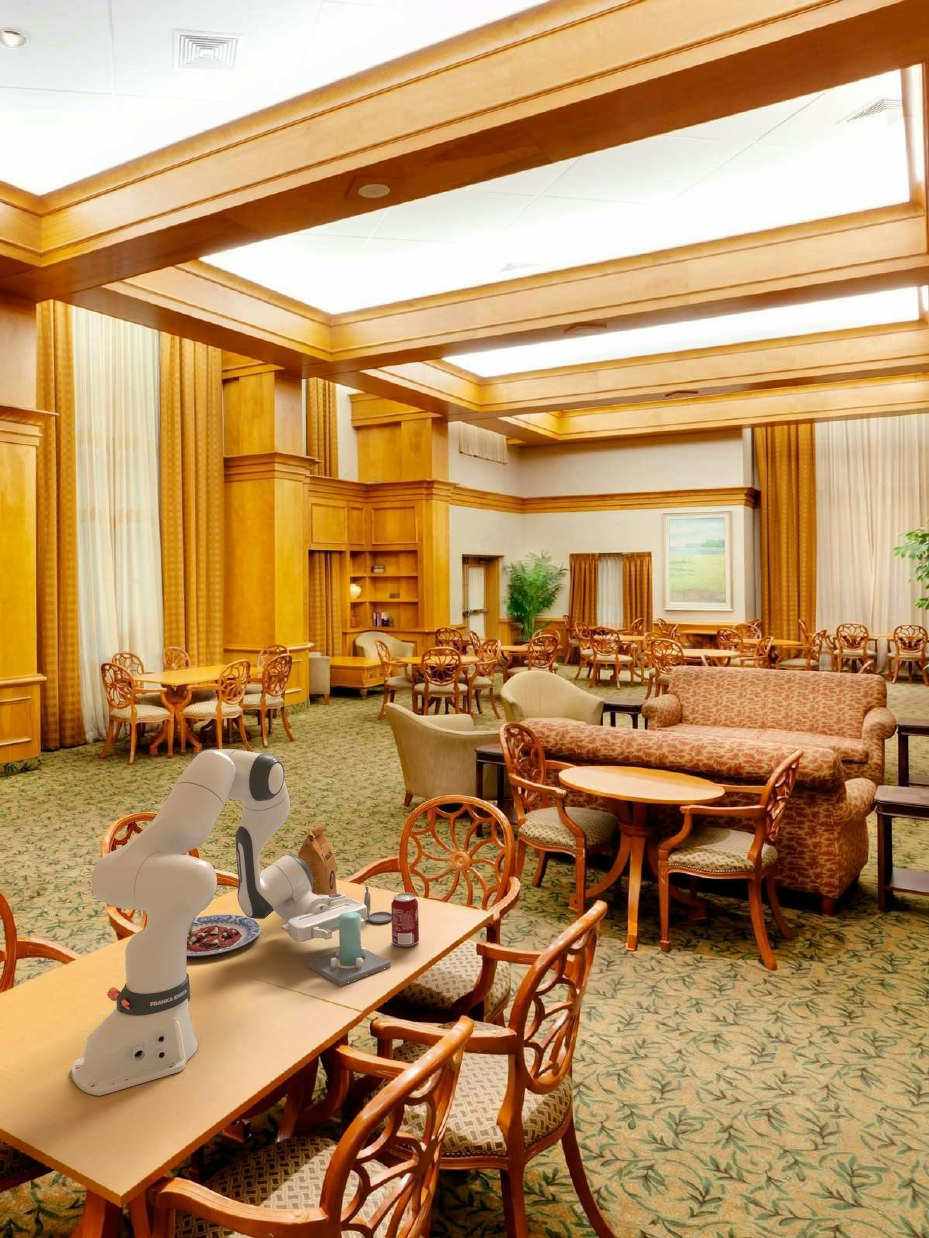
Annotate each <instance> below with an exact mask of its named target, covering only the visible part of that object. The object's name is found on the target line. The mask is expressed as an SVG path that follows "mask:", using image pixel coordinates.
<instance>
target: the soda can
mask: <svg viewBox="0 0 929 1238" xmlns="http://www.w3.org/2000/svg"><path fill="white" fill-rule="evenodd" d="M391 914H392V920H391V938H392V939H391V942H392V944H393V945H395V946H397V947H399V948H411V947H412V946H414V944H415V945H416V944H418V943H419V941H420V929H419V928H420V925H419V919H420V918H419V901H418V900H417V898H416V894H414V893H413V892H412V893H411V892H400V893H399V892H398V893H396V894H394V896H393V900H392V902H391Z"/></svg>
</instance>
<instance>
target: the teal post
mask: <svg viewBox="0 0 929 1238" xmlns="http://www.w3.org/2000/svg"><path fill="white" fill-rule="evenodd" d="M338 935H339V937H338V939H339V947H340V964H341V965H343V966H355V965H356V958H361V947H362V941H361V937H362V936H361V935H362V933H361V928H360V914H359V913H356V912H346V913H342V914H340V915H339V930H338Z"/></svg>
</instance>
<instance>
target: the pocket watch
mask: <svg viewBox="0 0 929 1238" xmlns="http://www.w3.org/2000/svg"><path fill="white" fill-rule="evenodd" d="M364 886H365V893H364V900H363V901H364V902H363V904H365V905H366V907H367V919H368V921H369V922H371V923H372V924H373V923H374V924H384V923H385V924H386V923H387V922H388V923H389V922H390V921H392V912H387V911H378V912H377V911H376V912H373V913H371V895H370V894H371V893H370V892H369V887H368V884H367V883H365V885H364Z"/></svg>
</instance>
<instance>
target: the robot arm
mask: <svg viewBox="0 0 929 1238" xmlns="http://www.w3.org/2000/svg"><path fill="white" fill-rule="evenodd" d="M289 795H290V794H289V790H288V788H287V784H286V781H285V767H284V765H283V763H282V762H281V761H280V759H279V757H277V756H275V755H272V754H269V753H265V752H253V751H248V750H242V749H235V748H234V749H232V748H227V749H226V748H223V749H217V748H207V749H203V750H200V751H199V752H197V753H196V754H195V755H194V757H192V759H191V761H190V762H189V764H188V765H187V766H186V768H185V769H184V770H183V772H182V773H181V774H180V777H179V778H178V779H177V781H176V782H175V784H174V786H173V788H172V790H171V791H170V793H169V794H168V796H167V798H166V800H165V802H164V803H163V805H162V806H161V808H160V809H159V811H158V813H157V814H156V816H155V817H154V818H153V819H152V821H151V822H149V824H148V825H147V826H146V827H145V828H144V829H143V830H142V831H141V832H139V833H138V834H137V835H136V836H135V837H133V838H132V839H131V840H130V841H128V842H127V843H126V844H124V845H122V846H121V847H119V848H117V849H114V850H113V851H111V852H108V853H106V854H104V855H103V856H102V857H101V858H100V859H99V860H98V861H97V862H96V864H95V866H94V869H92V873H91V877H90V879H91V880H90V885H91V886H90V887H91V891H92V894H93V897H94V898H95V899H97V900H98V901H100V902H102V903H104V904H106V905H109V906H111V907H114V908H118V909H123V910H124V909H125V910H131V911H141V912H145V914H146V917H147V918H146V925H145V927H144V928H142V929H141V930H139V931H137V932H136V933H135V934H134V935H133V936H132V937H131V938H130V939H129V940H128V943H127V944H126V947H125V950H124V954H125V984H124V986H123V987H122V989H121V991H120V990H119V989H118V988H117V987H114V986H113V987H110V988H109V989H108V991H107V994H106V995H107V997H108V999H110V1000H111V1001H112V1002H115V1003H116V1004H115V1005H116V1007H115V1008H114V1009H113V1010H112V1011H111V1012H110V1013H109V1014H108V1016H106V1018H104V1019H103V1020H102V1021H101V1022H100V1023H99V1024H98V1025H97V1026H96V1027H95V1028H94V1029H93V1030H92V1031H91V1032H90V1033H89V1035H88V1036H87V1040H86V1043H85V1048H84V1054H83V1055H84V1056H82V1057H80V1058H78V1059H76V1060H75V1061H74V1062H73V1063H72V1065H71V1066H72V1067H71V1071H70V1072H71V1078H72V1081H73V1082H74V1084H75V1085H76V1086H77V1087H78V1088H79V1089H80V1090H81V1091H83V1092H84V1093H86V1094H89V1095H93V1096H99V1097H100V1096H104V1095H108V1094H110V1093H114V1092H117V1091H120V1090H124V1089H127V1088H130V1087H133V1086H137V1085H141V1084H144V1083H148V1082H150V1081H153V1080H157V1079H160V1078H163V1077H166V1076H170V1075H173V1074H176V1073H180V1072H181V1071H184V1070H185V1068H186V1065H187V1062H188V1060H190V1058H191V1057H193V1055H194V1054H195V1052H196V1051H197V1049H198V1047H199V1043H198V1040H197V1038H196V1035H195V1032H194V1028H193V1023H192V1018H191V1011H190V1000H191V995H190V994H191V985H190V984H191V983H190V976H189V973H188V971H187V970H188V969H187V963H188V961H187V957H188V956H187V938H188V933H189V930H190V927H191V924H192V922H193V921H194V919H195V918H197V917H198V915H200V914H201V913H202V912H203V911H204V910H206V908H208V906H209V905H210V904H211V902H212V901H213V899H214V897H215V895H216V892H217V886H218V878H217V873H216V871H215V868H214V866H213V865H212V864H211V863H210V862H208V861H206V860H204V859H201V858H198V857H195V856H192V855H189V854H186V853H188V852H190V851H193V850H194V849H196V848H198V847H200V846H202V845H203V844H204V843H205V842H206V841H208V839H209V837H210V835H211V833H212V832H213V831H212V830H213V829H214V828H215V825H216V823H217V821H218V820H219V817H220V815H221V813H222V811H223V810H224V807H225V805H226V803H227V801H228V799H229V800H233V801H241V806H242V807H241V808H242V811H241V812H242V813H241V814H242V815H241V819H240V822H239V823H240V824H239V826H238V828H237V830H236V832H235V835H234V836H235V838H234V839H235V841H234V842H235V854H236V855H235V856H236V866H237V867H236V868H237V880H238V886H237V888H238V889H237V897H236V898H237V902H238V905H239V907H240V909H241V910H242V912H243V914H244V915H245V916H246V917H249V918H252V919H254V920H264V919H266V918H267V917H269V915H271V914H272V913H273V912H275V914H276V915H278V916H279V917H280V918H281V919H283V920H284V921H285V922H283V924H282V925H281V927H280V928H281V930H283V931H284V932H286V933H288V936H289V937H290V938H291V939H293V941H295V942H297V943H304V942H308V941H311V940H313V939H323V940H326V941H328V940H329V939H332V938H333V932H337V931H339V915H340V914H342V913H346V912H356V913H359V914H360V929H362V928H364V927H365V926H366V921H367V919H368V918H367V907H366V905H365V904H364V902H361V901H359V900H357V899H353V898H350V897H347V895H346V894H344V893H337V894H333V895H316V894H313V893H312V889H313V877H312V873H311V871H310V868H309V867H308V865H307V864H306V863H305V862H304V861H303V860H302V859H301V858H299V857H298V855H297V856H296V855H293V854H285V855H283V856H282V857H280V858H278V859H277V860H275V861H274V862H273V863H271V864H270V865H269V866H267V867H266V868H265V869H263V870H260V855H261V852H262V850H263V849H264V848H265V846H266V844H267V843H268V842H269V841H270V839H271V838H272V837H274V835H275V834H277V832H278V831H279V830H280V828H282V826H283V825H284V824H285V823H286V821H287V819H288V817H289V815H290V810H291V801H290V796H289Z"/></svg>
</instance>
